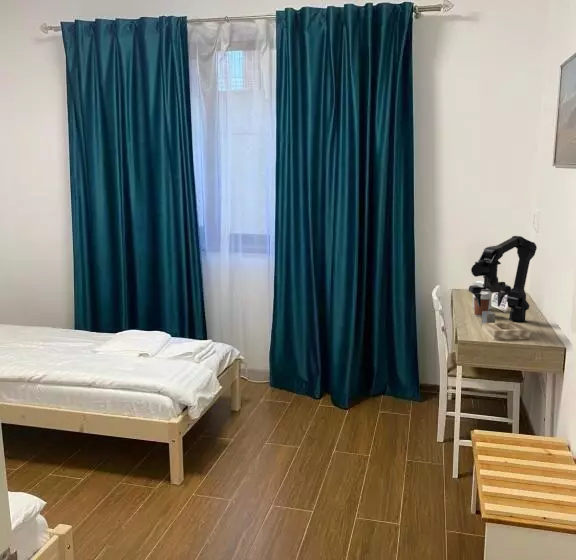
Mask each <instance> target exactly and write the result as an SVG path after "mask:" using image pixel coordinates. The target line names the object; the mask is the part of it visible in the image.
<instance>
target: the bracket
mask: <svg viewBox="0 0 576 560" xmlns="http://www.w3.org/2000/svg"><path fill="white" fill-rule="evenodd" d="M482 323H496V313H495V312H492V311H491V310H488V311H482V317H481V324H482Z"/></svg>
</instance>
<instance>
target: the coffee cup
mask: <svg viewBox="0 0 576 560" xmlns="http://www.w3.org/2000/svg"><path fill="white" fill-rule="evenodd" d="M480 293H481V307H479V306H478V303H477V300H476V298H475V296H474V295H473V294H472V299H473V298H474V308H473V309H474V310H473V311H474V317H477V318H482V311H489V310H488V308H489V301H490V299H491V300H492V295H491V296H490V295H489V293H488V292H480Z"/></svg>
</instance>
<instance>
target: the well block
mask: <svg viewBox="0 0 576 560" xmlns="http://www.w3.org/2000/svg"><path fill="white" fill-rule="evenodd" d="M481 326H482V327H481V332H482V334H483V333H484V334H485V335H486V336H487V337H489V338H491V339H492V340H493V341H495V340H496V341H501V340H502V339H506V340H529V339H530V333H531V332H530V329H528V328H527V327H525V326H524V325H522V324H520V323H519V322H513V321H511V322H510V321H509V322H508V321H507V322H495V323H482V322H481ZM502 341H503V340H502Z"/></svg>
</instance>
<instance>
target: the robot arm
mask: <svg viewBox="0 0 576 560" xmlns="http://www.w3.org/2000/svg"><path fill="white" fill-rule="evenodd" d="M537 247H538V246H537V244H536V243H535V242H533V241H531V240H529V239H526V238H525V237H523V236H521V235H512V236H511V237H510V238H508V239H507V240H505V241H503V242H501V243H499V244H497V245H491V246H487V247H485V248H484V249H483V251H482V253H481V255H480V257H479V259H478V260H477V261H475V262H474V264H473V265H472V267H471V269H470V272H471V274H472V275H473V277H475V278H476V277H482V278H483V281H484V284H483V286H484V287H479V286H477V285H473V284H472V285H469V287H468V292H470V293H471V294H472V295H473V294H474V296H475V298H476V300H477V303H478V306H479V307H481V293H480V292H481V291H490V292H491V294H494V293H497V307H501V303H502V302H503V299H504V298H505V297H506V302H507V307H508V308H509V309H510V311H509V318H508V319H509V320H510V321H511V322H516V323H527V319H526V315H527V314H526V312H527V311H528V310H529V309H530V304H529V302H528V301H527V294H526V290H525V286H526V283H527V281H526V280H527V277H528V272H529V268H530V267H529V266H530V262H531V261H532V259H533V258H534V257H535V255H536V251H537ZM515 248H516V253H517V257H518V263H517V268H516V273H515V277H514V283H513V287H511V286H510V285H509V284H506V282H505V281H499V277H498V267H499V266H498V265H501V262H500V261H499V260H500V259H501V258H503V256H504V254H505V253H507V252H509V251H510V250H513V249H515Z"/></svg>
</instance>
